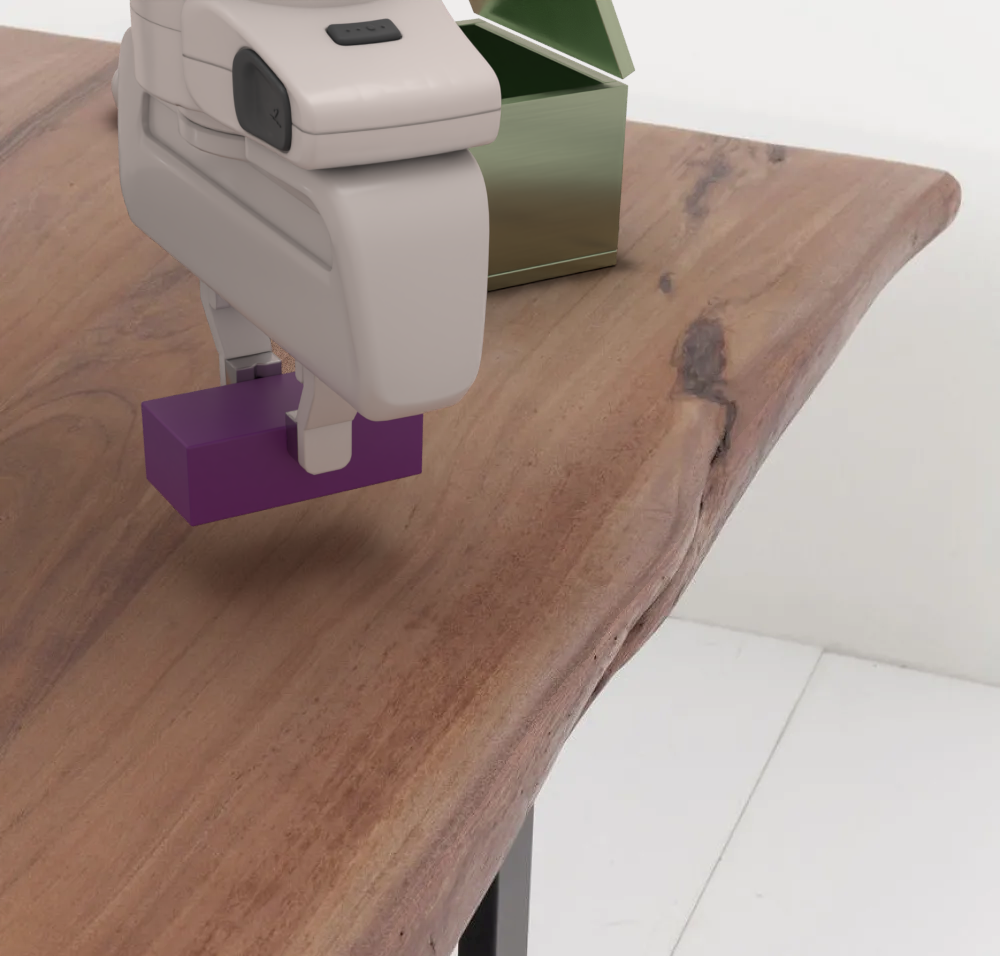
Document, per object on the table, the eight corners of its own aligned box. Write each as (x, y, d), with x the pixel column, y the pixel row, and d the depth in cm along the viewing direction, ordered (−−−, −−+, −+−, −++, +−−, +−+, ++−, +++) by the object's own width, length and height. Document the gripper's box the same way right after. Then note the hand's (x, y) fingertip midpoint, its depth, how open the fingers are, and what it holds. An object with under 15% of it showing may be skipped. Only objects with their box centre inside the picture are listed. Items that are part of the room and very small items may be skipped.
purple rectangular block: (191, 528, 64) (186, 447, 62) (145, 479, 67) (139, 401, 65) (422, 474, 68) (424, 397, 66) (370, 430, 71) (370, 355, 69)
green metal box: (340, 322, 87) (335, 130, 82) (215, 231, 97) (204, 53, 91) (617, 265, 94) (628, 85, 89) (475, 185, 103) (479, 18, 98)
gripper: (57, -45, 64) (89, 340, 72) (333, 129, 50) (336, 582, 58) (228, -59, 67) (241, 313, 75) (535, 102, 53) (510, 538, 61)
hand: (284, 433), depth 66 cm, fingers closed on purple rectangular block, 4 cm apart
